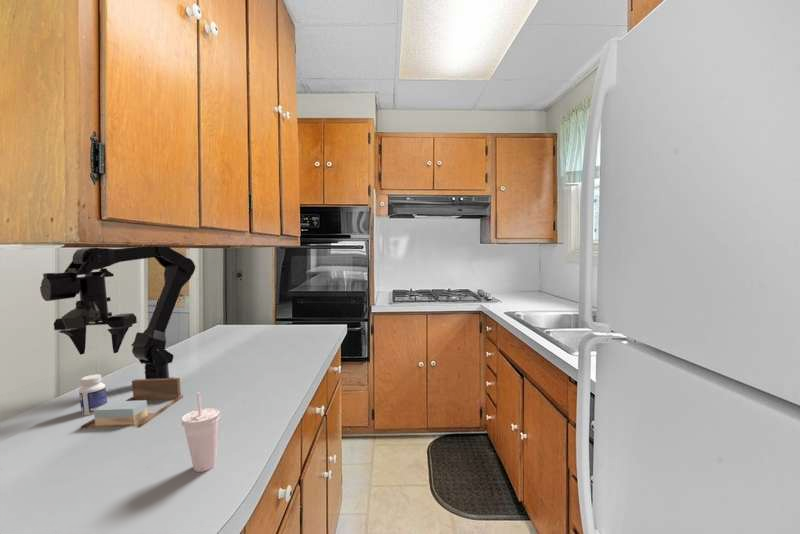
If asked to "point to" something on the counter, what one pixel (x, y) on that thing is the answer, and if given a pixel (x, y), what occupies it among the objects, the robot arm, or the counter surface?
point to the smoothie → (202, 436)
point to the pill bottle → (92, 394)
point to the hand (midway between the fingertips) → (99, 353)
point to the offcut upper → (120, 409)
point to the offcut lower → (121, 419)
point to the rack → (149, 397)
